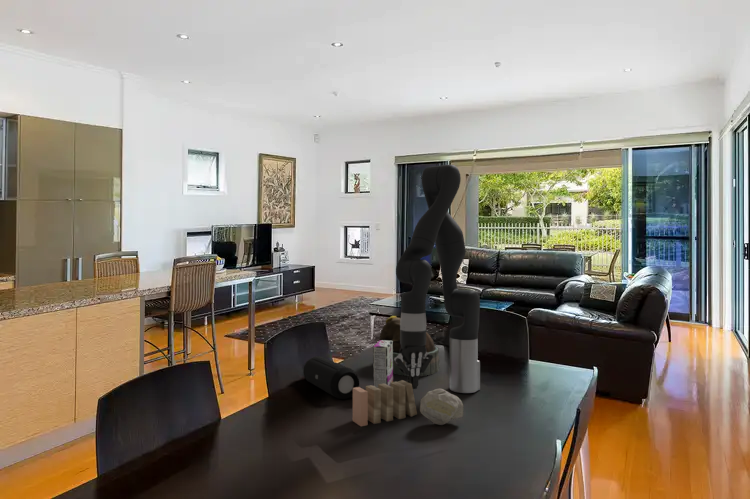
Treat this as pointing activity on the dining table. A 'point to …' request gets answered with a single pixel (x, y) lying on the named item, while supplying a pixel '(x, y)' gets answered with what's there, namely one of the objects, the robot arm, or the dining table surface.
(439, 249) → the robot arm
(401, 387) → the tile
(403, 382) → the tile
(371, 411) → the tile
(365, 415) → the tile
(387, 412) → the tile
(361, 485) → the dining table surface
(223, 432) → the dining table surface
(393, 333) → the elephant in basket
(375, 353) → the candy bar box
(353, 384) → the portable speaker
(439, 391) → the fossil replica
